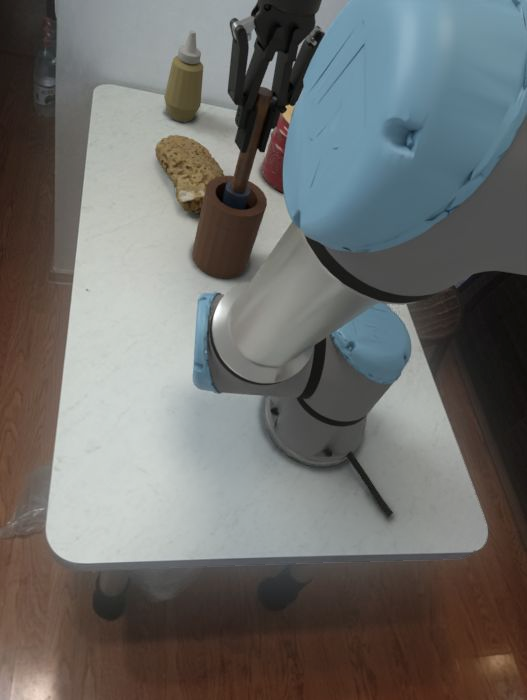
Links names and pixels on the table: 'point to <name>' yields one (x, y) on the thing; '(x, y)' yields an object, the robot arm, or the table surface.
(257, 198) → the jar
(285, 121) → the kitchen canister
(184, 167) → the sponge
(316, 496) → the table surface
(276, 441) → the robot arm
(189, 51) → the squeeze bottle
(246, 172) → the brush
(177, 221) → the table surface
